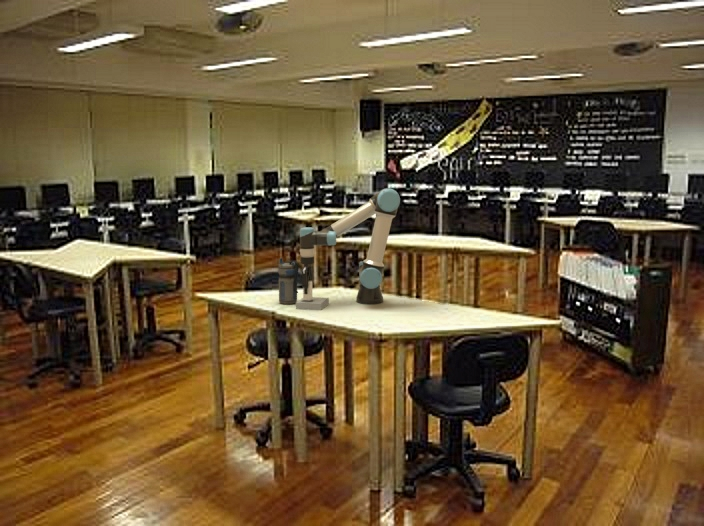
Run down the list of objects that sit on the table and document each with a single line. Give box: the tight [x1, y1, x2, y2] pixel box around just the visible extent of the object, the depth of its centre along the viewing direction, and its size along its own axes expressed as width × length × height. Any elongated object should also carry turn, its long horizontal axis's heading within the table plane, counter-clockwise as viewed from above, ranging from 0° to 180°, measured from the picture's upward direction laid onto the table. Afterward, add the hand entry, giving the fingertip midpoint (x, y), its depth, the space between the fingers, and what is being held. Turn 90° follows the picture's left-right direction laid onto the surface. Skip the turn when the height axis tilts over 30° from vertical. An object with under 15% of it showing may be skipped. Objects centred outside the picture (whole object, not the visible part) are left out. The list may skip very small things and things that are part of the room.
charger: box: [302, 281, 313, 300], centre depth 337 cm, size 4×4×10 cm
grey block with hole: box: [295, 296, 330, 311], centre depth 339 cm, size 14×16×4 cm
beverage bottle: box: [277, 257, 300, 305], centre depth 347 cm, size 10×13×25 cm
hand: (307, 298), depth 337 cm, fingers closed on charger, 4 cm apart
